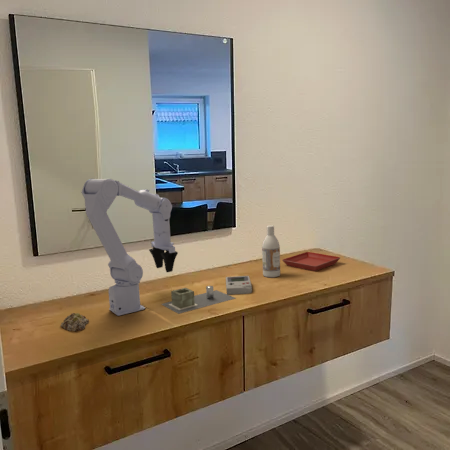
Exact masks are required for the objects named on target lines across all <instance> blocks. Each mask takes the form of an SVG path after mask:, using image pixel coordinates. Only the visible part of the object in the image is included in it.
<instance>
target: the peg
mask: <svg viewBox="0 0 450 450" xmlns="http://www.w3.org/2000/svg"><path fill="white" fill-rule="evenodd" d="M205 291H206V292H205V293H206V294H207V299H213V298H214V292H213V291H214V286H213V285H207V286H205Z"/></svg>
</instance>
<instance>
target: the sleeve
mask: <svg viewBox="0 0 450 450" xmlns="http://www.w3.org/2000/svg"><path fill="white" fill-rule="evenodd" d="M170 294H171V301H172V305H174V306H176V307H178V308H184V307H188V306H192V305H195V300H194V296H195V291H194V290H192V289H189V288H187V287H183V288H182V287H181V288H177V289H173V290H170Z"/></svg>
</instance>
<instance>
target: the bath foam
mask: <svg viewBox="0 0 450 450" xmlns="http://www.w3.org/2000/svg"><path fill="white" fill-rule="evenodd" d="M261 255H262V257H261V258H262V259H261V260H262V275H263V276H264V277H265V278H276V277H280V276H281V245H280V242H279V240H278V238H277V237H276V235H275V226H274V225H271V224H270V225H266V236H265V237H264V239H263V241H262V245H261Z"/></svg>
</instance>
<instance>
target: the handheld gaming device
mask: <svg viewBox="0 0 450 450" xmlns="http://www.w3.org/2000/svg"><path fill="white" fill-rule="evenodd" d="M225 288H226V294H227V295H230V296H231V295H246V294H247V295H248V294H252V293H253V287H252V281H251V278H250V276H249V275H235V276H226V277H225Z"/></svg>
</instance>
